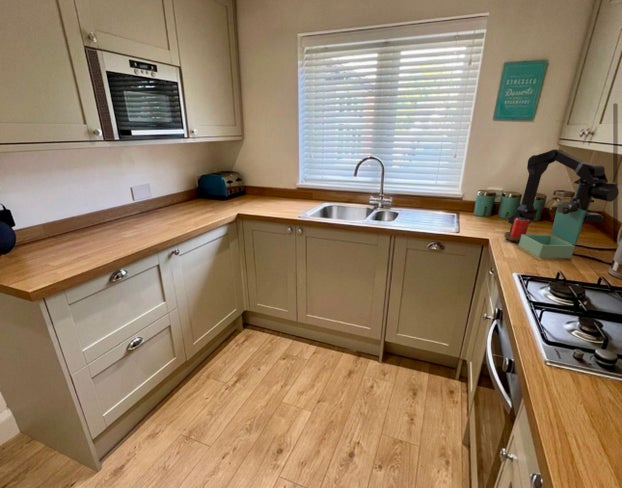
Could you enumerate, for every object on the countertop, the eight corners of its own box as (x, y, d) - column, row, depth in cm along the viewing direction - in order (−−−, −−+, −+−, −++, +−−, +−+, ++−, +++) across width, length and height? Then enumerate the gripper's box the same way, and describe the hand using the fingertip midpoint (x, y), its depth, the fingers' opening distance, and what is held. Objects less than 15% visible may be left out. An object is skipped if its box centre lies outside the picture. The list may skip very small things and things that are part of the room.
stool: (499, 239, 162) (501, 232, 161) (517, 239, 163) (519, 232, 161) (509, 245, 154) (511, 238, 153) (528, 245, 154) (530, 238, 153)
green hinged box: (538, 259, 139) (542, 245, 136) (518, 247, 152) (521, 234, 150) (570, 260, 139) (575, 246, 136) (547, 247, 152) (551, 234, 150)
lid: (584, 211, 131) (586, 211, 131) (558, 202, 144) (560, 202, 144) (574, 245, 136) (576, 245, 136) (550, 234, 150) (552, 233, 150)
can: (508, 233, 160) (512, 217, 156) (520, 233, 160) (524, 217, 157) (515, 237, 154) (520, 220, 151) (528, 237, 154) (532, 220, 151)
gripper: (549, 191, 144) (539, 225, 150) (582, 200, 127) (569, 239, 133) (574, 192, 145) (563, 226, 150) (610, 201, 127) (596, 239, 133)
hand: (571, 232), depth 142 cm, fingers closed
